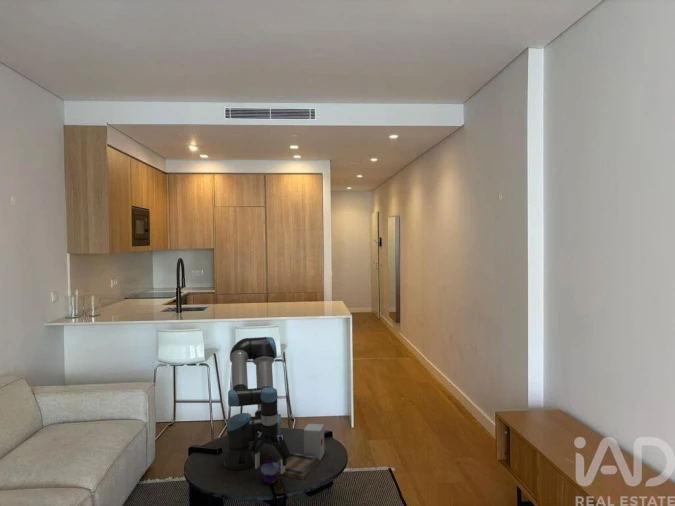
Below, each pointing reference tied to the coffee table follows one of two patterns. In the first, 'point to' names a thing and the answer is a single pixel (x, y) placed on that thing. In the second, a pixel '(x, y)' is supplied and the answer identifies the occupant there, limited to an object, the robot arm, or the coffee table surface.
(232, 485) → the coffee table surface
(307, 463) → the jig plate
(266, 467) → the potion bottle
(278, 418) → the robot arm
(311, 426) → the supplement box
